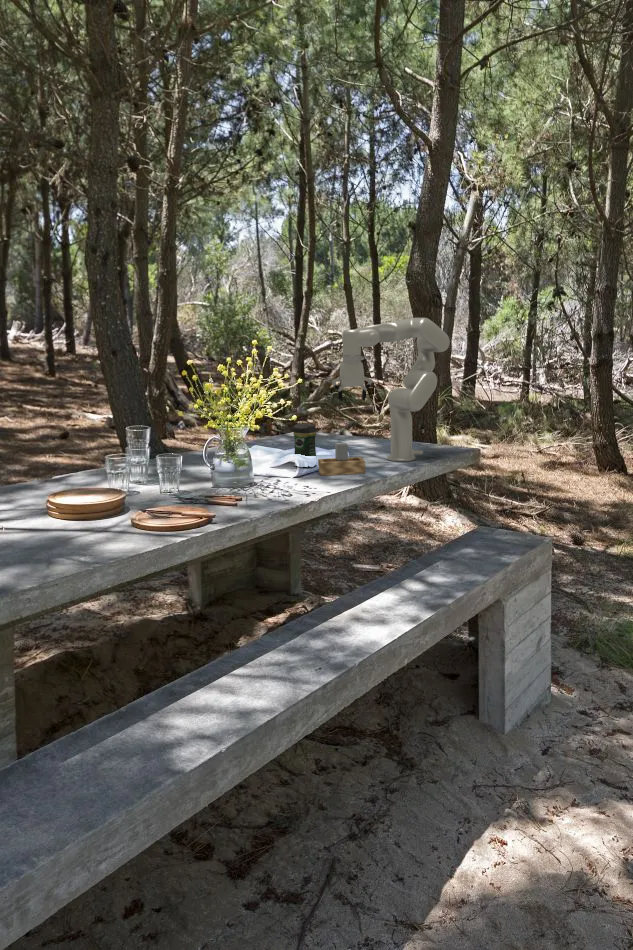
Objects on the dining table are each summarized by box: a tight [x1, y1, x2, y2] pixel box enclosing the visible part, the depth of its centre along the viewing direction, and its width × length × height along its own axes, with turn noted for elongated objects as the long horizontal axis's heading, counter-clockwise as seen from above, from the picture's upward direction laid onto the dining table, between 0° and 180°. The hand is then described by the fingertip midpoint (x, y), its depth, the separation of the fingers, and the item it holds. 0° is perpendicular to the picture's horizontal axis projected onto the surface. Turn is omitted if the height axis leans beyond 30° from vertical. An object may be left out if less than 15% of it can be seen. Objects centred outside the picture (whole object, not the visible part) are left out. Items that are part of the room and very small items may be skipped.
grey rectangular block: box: [334, 442, 349, 462], centre depth 334 cm, size 4×4×11 cm
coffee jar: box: [292, 423, 317, 457], centre depth 348 cm, size 10×8×19 cm
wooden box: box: [317, 456, 366, 477], centre depth 334 cm, size 18×10×5 cm, turn 97°
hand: (352, 400), depth 343 cm, fingers open, 9 cm apart
